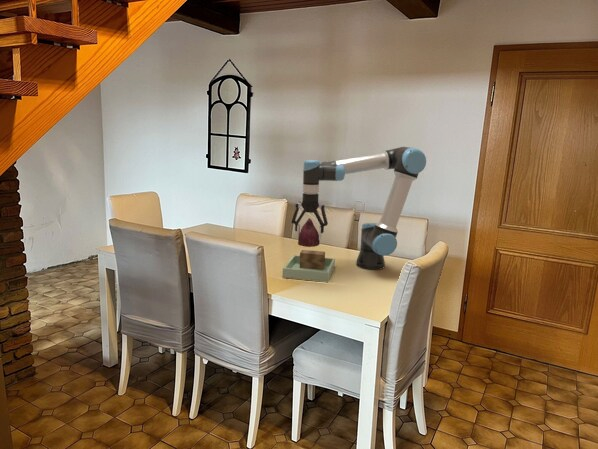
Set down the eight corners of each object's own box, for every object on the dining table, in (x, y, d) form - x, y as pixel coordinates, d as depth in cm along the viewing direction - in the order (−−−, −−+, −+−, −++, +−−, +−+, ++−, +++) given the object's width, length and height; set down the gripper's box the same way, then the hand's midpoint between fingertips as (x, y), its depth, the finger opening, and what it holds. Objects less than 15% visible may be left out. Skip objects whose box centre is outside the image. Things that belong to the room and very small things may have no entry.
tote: (334, 267, 240) (335, 258, 239) (327, 282, 217) (328, 272, 216) (293, 264, 244) (293, 254, 243) (282, 278, 221) (282, 268, 220)
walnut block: (324, 266, 239) (325, 251, 237) (322, 270, 233) (323, 254, 232) (301, 264, 241) (302, 249, 240) (299, 267, 236) (300, 252, 234)
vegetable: (316, 253, 219) (320, 226, 212) (295, 249, 220) (298, 221, 213) (320, 243, 228) (324, 216, 221) (300, 239, 230) (303, 212, 223)
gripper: (335, 193, 219) (333, 238, 224) (289, 190, 224) (288, 235, 229) (333, 195, 212) (331, 242, 217) (285, 192, 217) (284, 238, 221)
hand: (309, 238), depth 223 cm, fingers closed on vegetable, 10 cm apart
